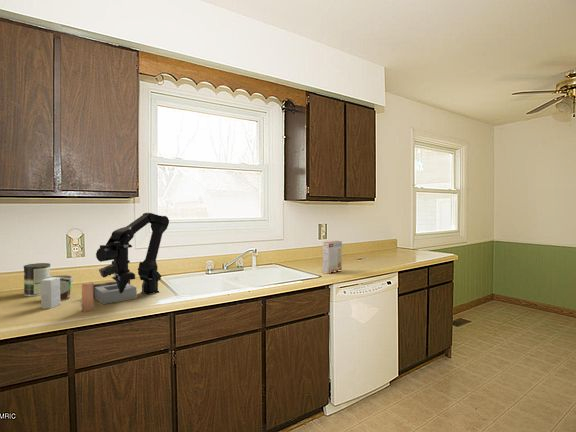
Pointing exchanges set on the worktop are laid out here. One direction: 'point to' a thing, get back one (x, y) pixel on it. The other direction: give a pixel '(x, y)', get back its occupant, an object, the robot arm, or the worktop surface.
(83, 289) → the dowel
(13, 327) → the worktop surface
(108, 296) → the socket block
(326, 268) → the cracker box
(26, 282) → the coffee can
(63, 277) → the food container
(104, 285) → the walnut wall
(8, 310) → the worktop surface
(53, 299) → the skincare box
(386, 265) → the worktop surface
